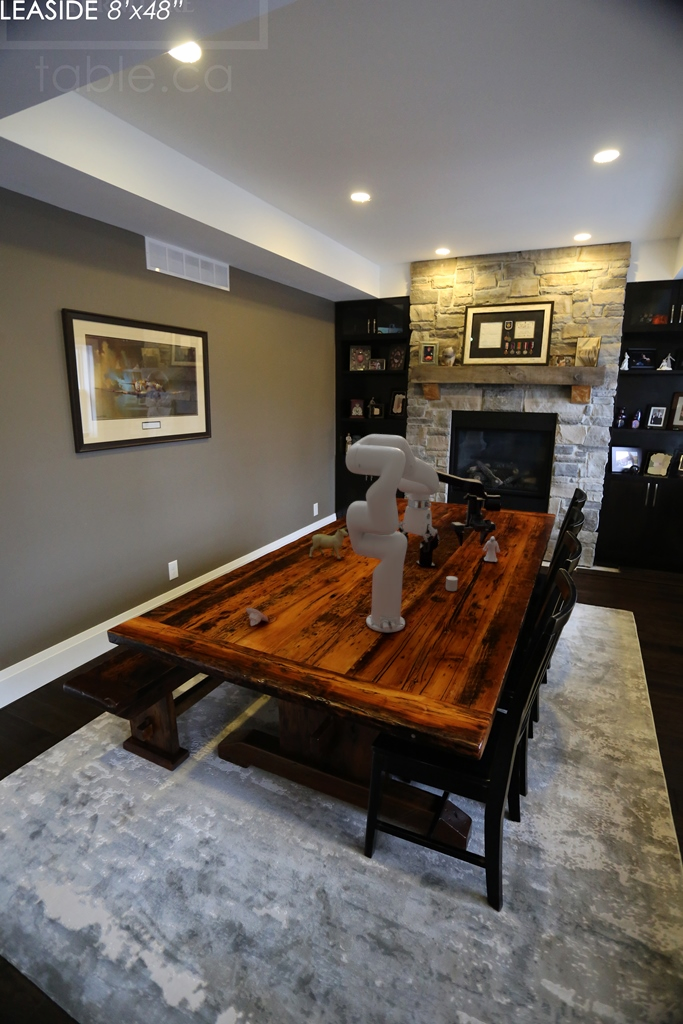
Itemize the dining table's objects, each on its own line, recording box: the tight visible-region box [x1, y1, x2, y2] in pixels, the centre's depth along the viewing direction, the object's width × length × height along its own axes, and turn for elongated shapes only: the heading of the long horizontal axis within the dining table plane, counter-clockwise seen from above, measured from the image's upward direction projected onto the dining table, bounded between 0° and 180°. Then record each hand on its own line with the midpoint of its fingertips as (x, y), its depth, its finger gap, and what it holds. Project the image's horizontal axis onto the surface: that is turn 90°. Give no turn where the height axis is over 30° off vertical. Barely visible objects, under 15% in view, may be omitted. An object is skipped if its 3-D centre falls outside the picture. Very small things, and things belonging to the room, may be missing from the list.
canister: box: [445, 575, 459, 592], centre depth 192 cm, size 4×4×4 cm
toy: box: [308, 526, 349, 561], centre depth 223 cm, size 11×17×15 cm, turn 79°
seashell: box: [245, 607, 269, 627], centre depth 160 cm, size 8×5×8 cm
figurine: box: [482, 535, 501, 563], centre depth 223 cm, size 8×8×12 cm
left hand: (415, 548), depth 186 cm, fingers open, 9 cm apart
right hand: (471, 545), depth 213 cm, fingers open, 9 cm apart
